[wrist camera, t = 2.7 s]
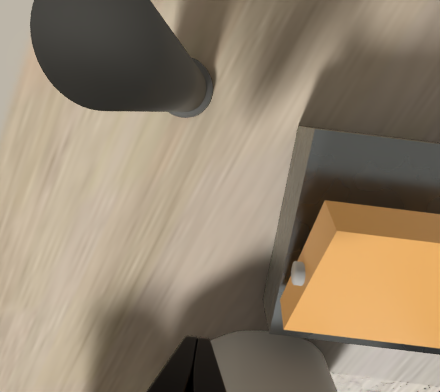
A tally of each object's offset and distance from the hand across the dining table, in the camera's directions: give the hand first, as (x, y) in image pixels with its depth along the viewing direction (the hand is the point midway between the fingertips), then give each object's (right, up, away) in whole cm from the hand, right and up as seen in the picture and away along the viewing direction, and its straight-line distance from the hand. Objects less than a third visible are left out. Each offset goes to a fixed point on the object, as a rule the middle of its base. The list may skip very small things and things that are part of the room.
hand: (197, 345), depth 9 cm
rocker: (+10, +1, +2) cm, 10 cm away
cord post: (-1, +11, +5) cm, 12 cm away
